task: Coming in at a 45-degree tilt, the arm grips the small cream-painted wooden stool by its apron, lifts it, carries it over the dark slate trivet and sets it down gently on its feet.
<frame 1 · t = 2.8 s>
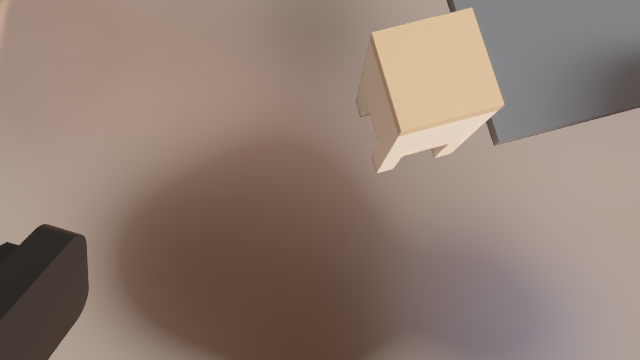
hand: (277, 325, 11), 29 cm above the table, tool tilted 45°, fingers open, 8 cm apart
stool: (402, 127, 41), on the table
trivet: (554, 33, 42), on the table
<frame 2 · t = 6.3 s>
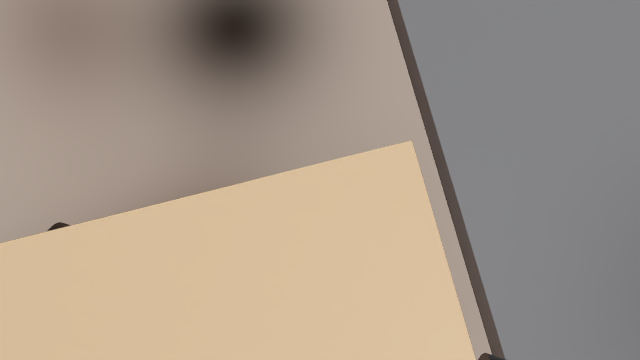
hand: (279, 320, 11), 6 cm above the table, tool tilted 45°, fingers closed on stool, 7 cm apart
stool: (280, 351, 16), on the table, touching gripper
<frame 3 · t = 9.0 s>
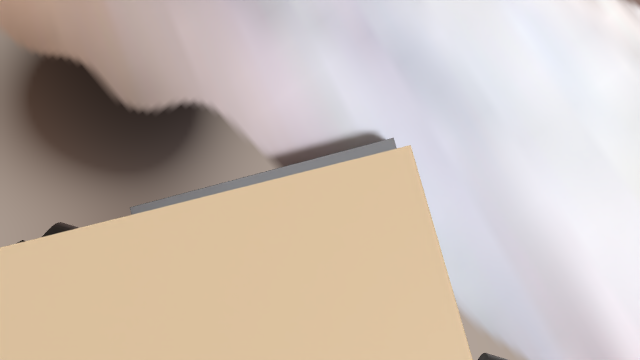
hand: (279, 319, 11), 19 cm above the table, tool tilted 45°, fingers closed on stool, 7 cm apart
stool: (279, 353, 16), point 13 cm above the table, touching gripper
trivet: (298, 305, 29), on the table
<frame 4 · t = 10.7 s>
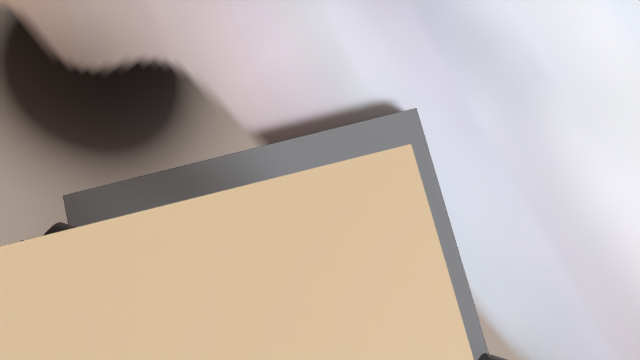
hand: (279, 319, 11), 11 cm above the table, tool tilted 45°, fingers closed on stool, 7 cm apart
stool: (279, 353, 16), point 5 cm above the table, touching gripper
trivet: (287, 329, 22), on the table
when the fingers open (8 cm above the table, at t = 12.2 s): stool stays where it is, resting on trivet.
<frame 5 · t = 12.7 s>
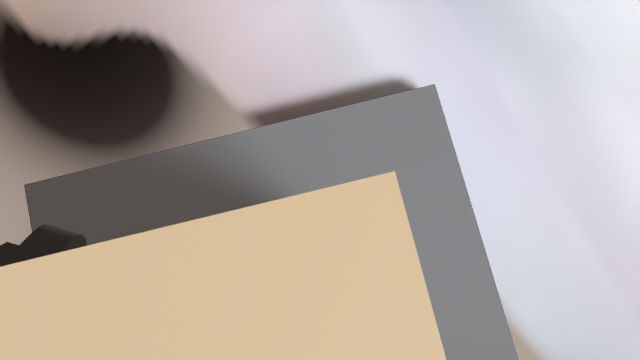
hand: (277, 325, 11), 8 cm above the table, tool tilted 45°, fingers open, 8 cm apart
stool: (281, 348, 18), point 1 cm above the table, touching trivet
trivet: (284, 340, 19), on the table
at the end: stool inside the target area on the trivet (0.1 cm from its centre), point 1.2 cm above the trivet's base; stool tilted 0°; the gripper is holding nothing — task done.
